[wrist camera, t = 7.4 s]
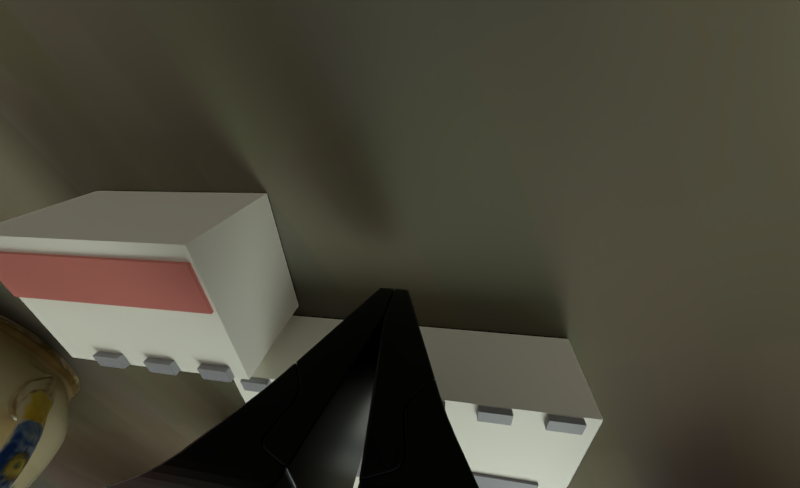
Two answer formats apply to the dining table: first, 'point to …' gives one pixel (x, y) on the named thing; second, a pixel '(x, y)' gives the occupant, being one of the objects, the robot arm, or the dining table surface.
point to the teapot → (31, 404)
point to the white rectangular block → (154, 279)
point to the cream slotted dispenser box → (485, 398)
